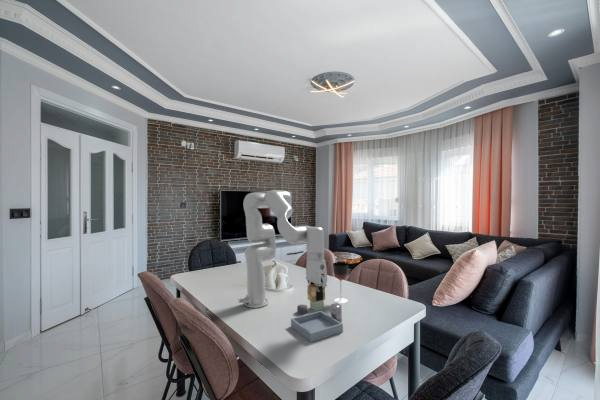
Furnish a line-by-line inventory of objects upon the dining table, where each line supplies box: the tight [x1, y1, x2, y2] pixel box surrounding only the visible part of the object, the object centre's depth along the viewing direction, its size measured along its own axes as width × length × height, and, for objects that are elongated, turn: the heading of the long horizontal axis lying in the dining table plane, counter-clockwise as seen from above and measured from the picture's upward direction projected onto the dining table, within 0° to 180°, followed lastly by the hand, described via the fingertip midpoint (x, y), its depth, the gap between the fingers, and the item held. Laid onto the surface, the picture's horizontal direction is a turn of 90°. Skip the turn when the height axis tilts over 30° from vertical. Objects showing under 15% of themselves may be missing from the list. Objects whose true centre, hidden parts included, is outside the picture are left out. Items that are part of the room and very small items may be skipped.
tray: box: [290, 310, 344, 343], centre depth 117 cm, size 16×16×3 cm
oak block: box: [307, 284, 326, 303], centre depth 117 cm, size 4×6×6 cm
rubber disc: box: [296, 304, 309, 316], centre depth 134 cm, size 5×5×3 cm
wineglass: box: [332, 261, 349, 304], centre depth 149 cm, size 8×9×20 cm
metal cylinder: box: [330, 303, 343, 323], centre depth 124 cm, size 5×5×7 cm
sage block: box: [309, 300, 325, 312], centre depth 139 cm, size 5×5×5 cm
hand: (316, 297), depth 117 cm, fingers closed on oak block, 4 cm apart
